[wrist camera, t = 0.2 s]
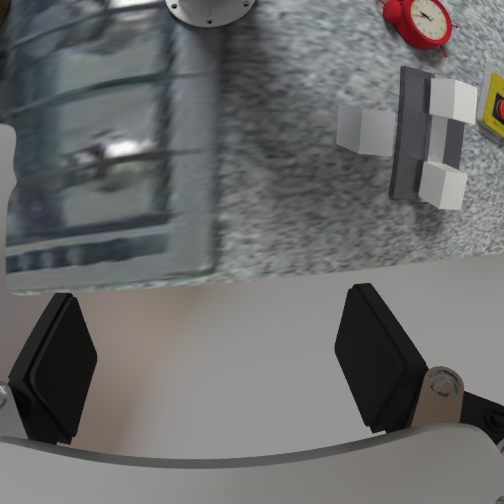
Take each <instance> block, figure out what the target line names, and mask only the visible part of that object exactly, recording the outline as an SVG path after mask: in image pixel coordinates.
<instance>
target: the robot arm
mask: <svg viewBox="0 0 504 504" xmlns="http://www.w3.org/2000/svg"><path fill="white" fill-rule="evenodd" d="M254 1H255V0H165V2H166V5H167V7H168V9H169V10H170V11H171V13H172V14H173V15H174V16H175V17H176V18H178V19H179V20H180V21H182V22H184V23H186V24H189V25H192V26H195V27H201V28H214V27H221V26H224V25H227V24H230V23H232V22H234V21H237V20H238V19H240V18H241V17H242V16H244V15H245V14H246V13H247V12H248V11H249V10H250V8H251V7H252V5H253V4H254ZM245 4H246V5H247V7H245V6H244V5H245ZM174 7H177V8H176V9H173V8H174ZM209 21H211V22H212V23H211V24H208V22H209ZM335 354H336V356H337V358H338V361H339V364H340V366H341V368H342V371H343V373H344V375H345V378H346V380H347V383H348V385H349V387H350V390H351V392H352V395H353V397H354V399H355V402H356V404H357V407H358V409H359V411H360V414H361V417H362V419H363V422H364V424H365V425H366V426H370V429H371V431H372V433H377V432H380V431H384V430H385V431H386V434H383V435H379V436H375V437H371V438H367V439H363V440H359V441H354V442H349V443H344V444H339V445H335V446H330V447H324V448H319V449H313V450H307V451H300V452H293V453H286V454H277V455H268V456H258V457H246V458H229V459H162V458H144V457H133V456H122V455H114V454H106V453H99V452H92V451H85V450H79V449H74V448H68V447H63V446H57V445H56V444H57V442H60V443H64V444H69V445H70V444H71V440H72V437H75V436H76V433H77V430H78V426H79V422H80V418H81V415H82V411H83V407H84V403H85V400H86V396H87V393H88V389H89V386H90V383H91V379H92V376H93V373H94V369H95V366H96V363H97V353H96V350H95V347H94V345H93V342H92V340H91V337H90V335H89V332H88V329H87V326H86V323H85V321H84V318H83V315H82V312H81V309H80V306H79V303H78V300H77V298H76V297H73V295H72V294H71V293H55V294H54V296H53V297H52V299H51V300H50V302H49V304H48V305H47V307H46V309H45V310H44V312H43V313H42V315H41V317H40V319H39V320H38V322H37V324H36V325H35V327H34V329H33V331H32V332H31V334H30V336H29V338H28V339H27V341H26V343H25V345H24V347H23V349H22V351H21V353H20V354H19V356H18V358H17V360H16V362H15V364H14V366H13V368H12V370H11V372H10V374H9V376H8V378H9V379H10V380H9V382H8V384H6V383H5V382H2V381H0V504H504V406H502V405H500V404H497V403H495V402H492V401H490V400H487V399H484V398H481V397H479V396H476V395H474V394H471V393H469V392H466V391H464V384H463V381H462V379H461V377H460V376H459V375H458V374H457V373H456V372H455V371H453V370H452V369H449V368H447V367H442V366H437V367H433V368H431V369H428V367H427V365H426V362H425V361H424V359H423V358H422V356H421V355H420V353H419V351H418V350H417V348H416V347H415V345H414V344H413V343H412V341H411V340H410V338H409V337H408V335H407V334H406V332H405V331H404V330H403V328H402V326H401V325H400V323H399V322H398V321H397V319H396V318H395V316H394V315H393V313H392V312H391V311H390V310H389V308H388V306H387V305H386V304H385V302H384V301H383V299H382V298H381V297H380V295H379V294H378V292H377V291H376V290H375V288H374V287H373V286H372V285H371V284H370V283H362V284H355V285H353V287H352V288H351V289H349V290H348V293H347V297H346V302H345V306H344V310H343V314H342V318H341V323H340V326H339V330H338V334H337V338H336V342H335Z"/></svg>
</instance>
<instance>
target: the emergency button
mask: <svg viewBox="0 0 504 504" xmlns="http://www.w3.org/2000/svg"><path fill="white" fill-rule="evenodd" d="M474 128H475V129H476V130H478V131H479V132H481V133H482V134H484V135H485V136H486V137H488V138H489V139H491V140H492V141H494V142H495V143H498V142H499V140H500V138H504V75H503V74H502V73H501V72H499V71H498V70H497V69H496V68H495V67H494V66H493V65H491V64H490V63H489V62H487V63H486V64H485V70H484V76H483V81H482V87H481V92H480V97H479V102H478V106H477V111H476V115H475V125H474Z"/></svg>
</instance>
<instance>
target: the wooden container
mask: <svg viewBox="0 0 504 504" xmlns="http://www.w3.org/2000/svg"><path fill="white" fill-rule="evenodd" d="M9 2H10V0H0V26H1V24H2V22H3V20H4V18H5V16H6V13H7V10H8V7H9Z"/></svg>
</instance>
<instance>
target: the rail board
mask: <svg viewBox="0 0 504 504" xmlns="http://www.w3.org/2000/svg"><path fill="white" fill-rule="evenodd" d="M431 78H435V79H449V78H447V77H444V76H441V75H438V74H431V73H428V72H425V71H421V70H418V69H414V68H411V67H407V66H401V73H400V96H399V112H398V124H397V135H396V145H395V154H394V162H393V170H392V177H391V184H390V191H389V196H390V197H391V198H393V199H413V200H419V201H420V202H427V201H426V200H424V199H423V198H421V197H419V196H418V195H419V190H420V184H421V178H422V171H423V165H424V161H426V162H433V163H440V164H446V165H448V166H450V167H453V168H455V169H457V170H458V169H459V162H460V156H461V149H462V141H463V133H464V123H465V122H461V121H457V120H453V119H449V118H445V117H441V116H437V115H433V114H429V111H430V96H431Z"/></svg>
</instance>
